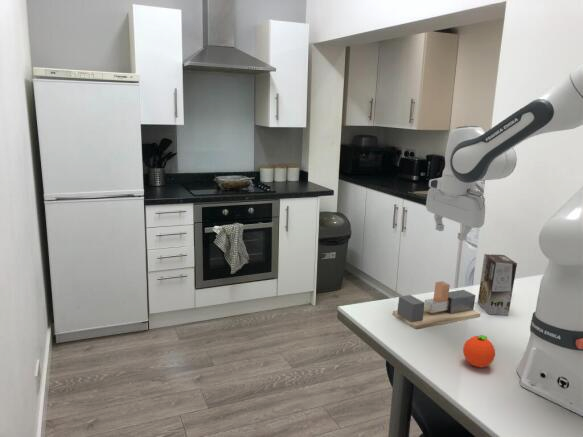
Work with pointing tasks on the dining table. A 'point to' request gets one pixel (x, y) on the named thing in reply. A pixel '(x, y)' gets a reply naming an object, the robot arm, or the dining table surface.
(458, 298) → the sleeve
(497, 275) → the coffee box
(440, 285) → the bar
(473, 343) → the clementine
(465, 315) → the oak board
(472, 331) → the dining table surface
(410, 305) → the socket block
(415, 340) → the dining table surface
